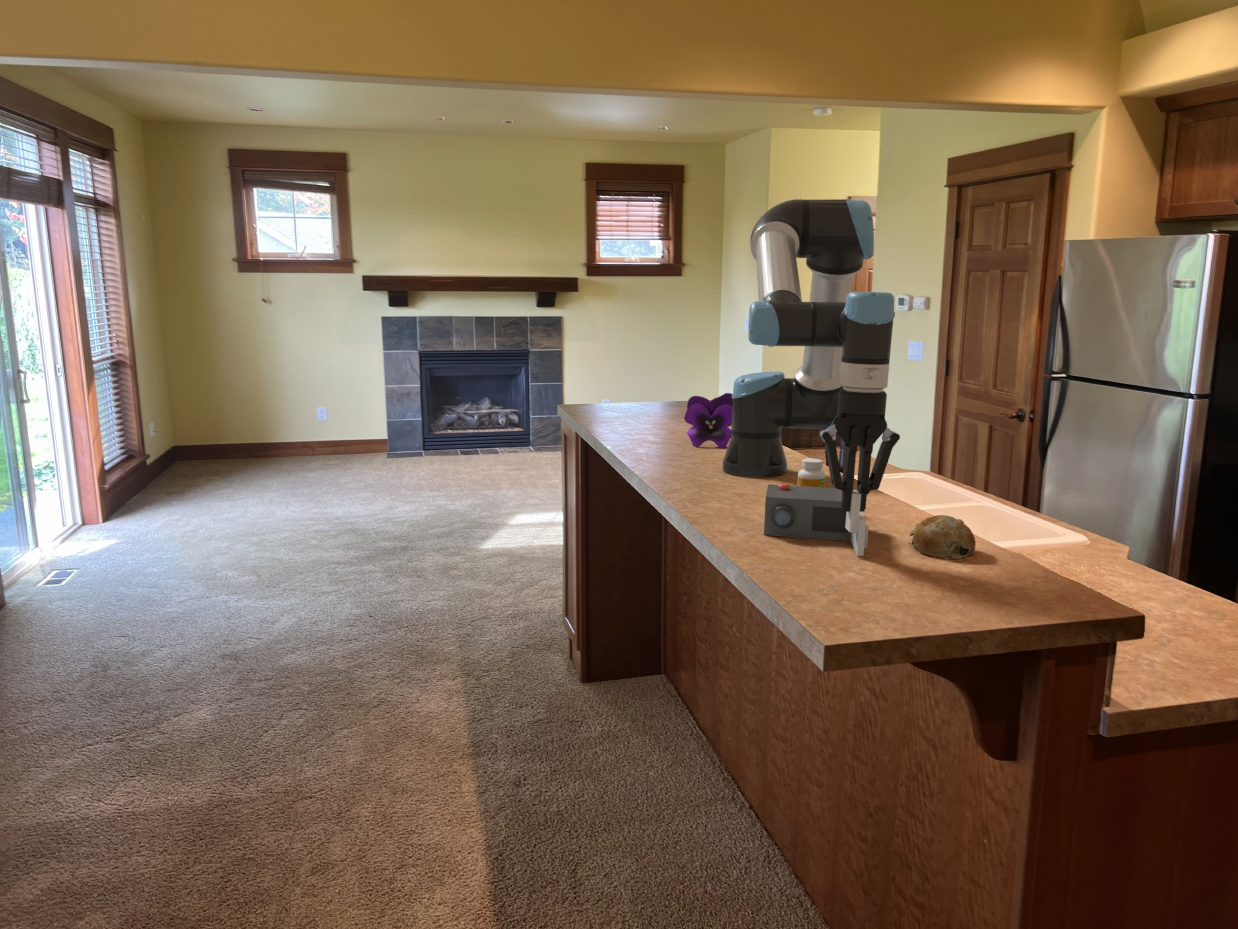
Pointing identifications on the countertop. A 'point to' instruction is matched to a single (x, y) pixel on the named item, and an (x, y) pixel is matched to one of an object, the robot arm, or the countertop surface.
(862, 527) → the side door
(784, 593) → the countertop surface
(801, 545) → the countertop surface
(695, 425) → the flower
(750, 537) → the countertop surface
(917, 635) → the countertop surface
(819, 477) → the supplement bottle
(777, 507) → the box with round dial
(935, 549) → the bread roll
